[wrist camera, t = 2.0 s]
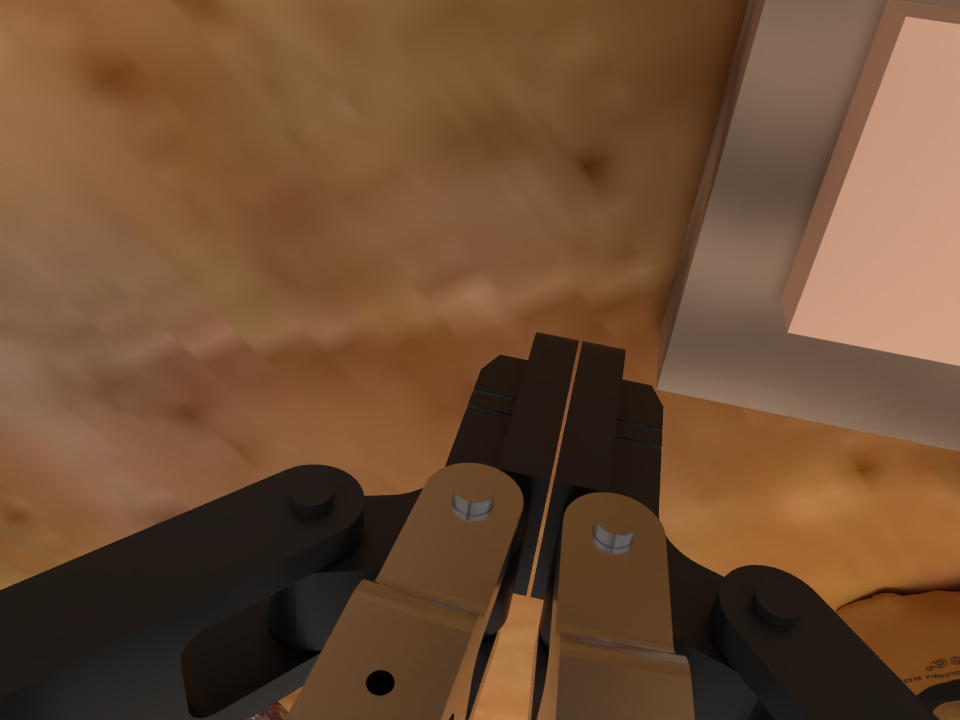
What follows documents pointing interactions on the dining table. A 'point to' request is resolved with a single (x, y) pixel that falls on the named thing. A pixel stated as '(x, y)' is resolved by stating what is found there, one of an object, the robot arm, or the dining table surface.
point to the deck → (786, 240)
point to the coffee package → (915, 642)
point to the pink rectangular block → (890, 201)
